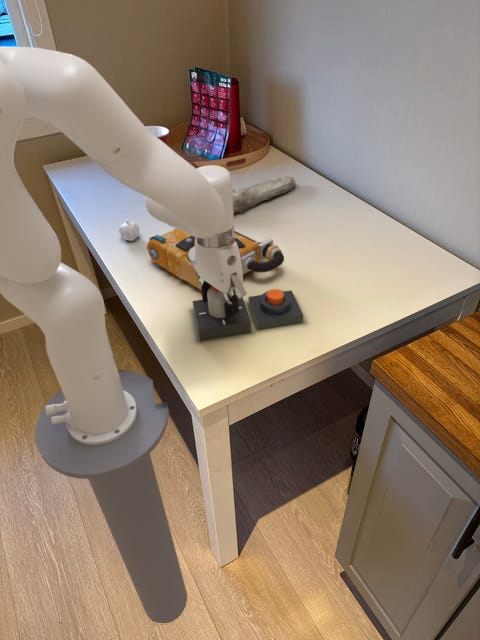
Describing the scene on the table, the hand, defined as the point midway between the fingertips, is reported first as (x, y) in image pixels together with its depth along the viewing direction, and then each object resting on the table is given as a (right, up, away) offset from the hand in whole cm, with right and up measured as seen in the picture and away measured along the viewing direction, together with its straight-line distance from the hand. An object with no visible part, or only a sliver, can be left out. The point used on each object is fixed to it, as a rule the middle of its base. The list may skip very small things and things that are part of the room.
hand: (220, 306), depth 103 cm
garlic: (-26, +20, +32) cm, 46 cm away
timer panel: (0, -3, +3) cm, 4 cm away
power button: (+12, +1, +2) cm, 12 cm away
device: (-2, +11, +19) cm, 22 cm away
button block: (+12, -1, +4) cm, 13 cm away
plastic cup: (-25, +53, +72) cm, 93 cm away
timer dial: (0, -1, +1) cm, 1 cm away
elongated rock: (+8, +34, +46) cm, 58 cm away
